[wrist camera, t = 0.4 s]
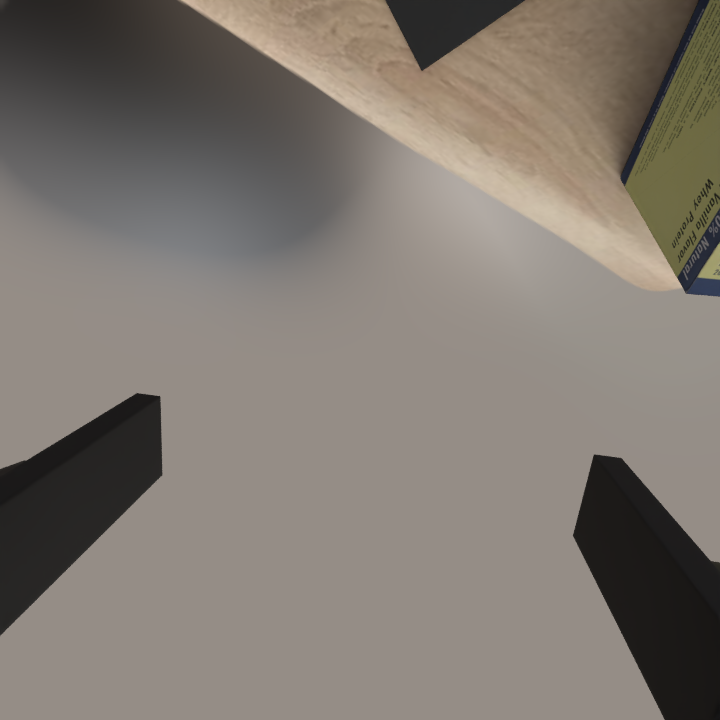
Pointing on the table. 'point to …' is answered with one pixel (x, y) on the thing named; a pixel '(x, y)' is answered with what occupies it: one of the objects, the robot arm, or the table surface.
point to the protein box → (684, 158)
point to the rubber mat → (444, 23)
